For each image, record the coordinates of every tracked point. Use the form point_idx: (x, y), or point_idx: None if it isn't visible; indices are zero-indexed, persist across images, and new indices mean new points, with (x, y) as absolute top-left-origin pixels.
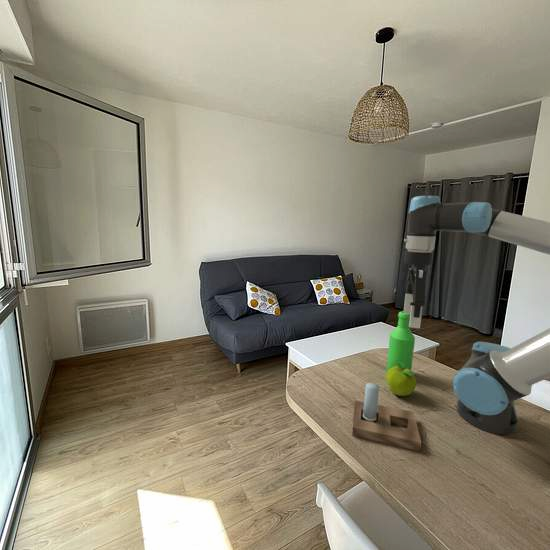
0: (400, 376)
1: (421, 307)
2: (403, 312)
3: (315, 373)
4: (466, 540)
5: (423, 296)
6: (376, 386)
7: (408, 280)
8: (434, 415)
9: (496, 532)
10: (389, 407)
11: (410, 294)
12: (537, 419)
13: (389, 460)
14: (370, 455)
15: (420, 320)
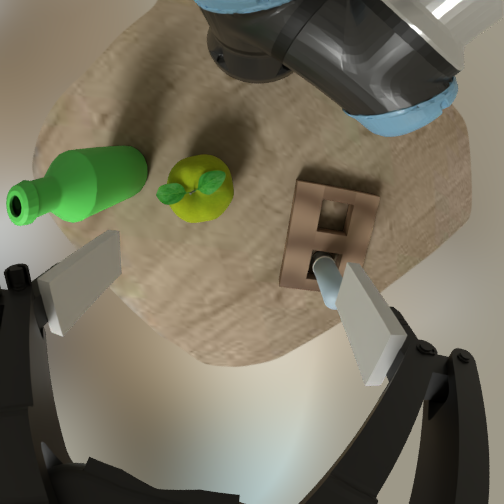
0: (218, 199)
1: (401, 334)
2: (11, 208)
3: (181, 334)
4: (469, 195)
5: (476, 399)
6: (338, 290)
7: (72, 462)
8: (274, 131)
9: (462, 160)
10: (292, 226)
11: (52, 309)
12: None
13: (392, 244)
14: (385, 267)
15: (371, 284)
